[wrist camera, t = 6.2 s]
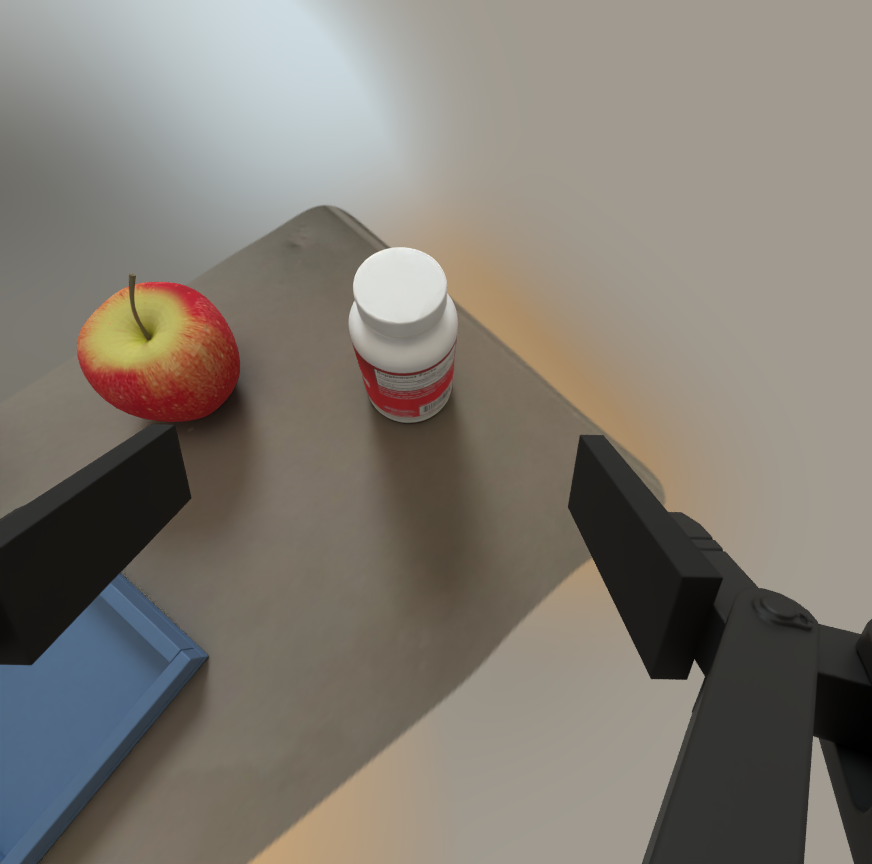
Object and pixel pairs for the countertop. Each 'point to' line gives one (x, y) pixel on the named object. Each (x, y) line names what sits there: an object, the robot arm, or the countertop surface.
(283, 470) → the countertop surface
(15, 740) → the medicine tray
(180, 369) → the apple
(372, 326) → the pill bottle
